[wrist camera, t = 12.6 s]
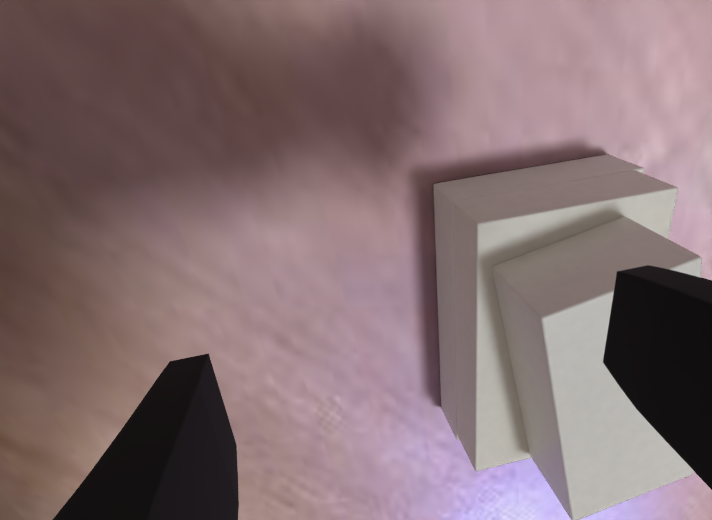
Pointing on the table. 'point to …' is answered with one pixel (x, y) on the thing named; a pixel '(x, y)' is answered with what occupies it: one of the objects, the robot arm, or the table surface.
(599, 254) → the cream rectangular block
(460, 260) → the cream stack
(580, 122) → the table surface
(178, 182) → the table surface
